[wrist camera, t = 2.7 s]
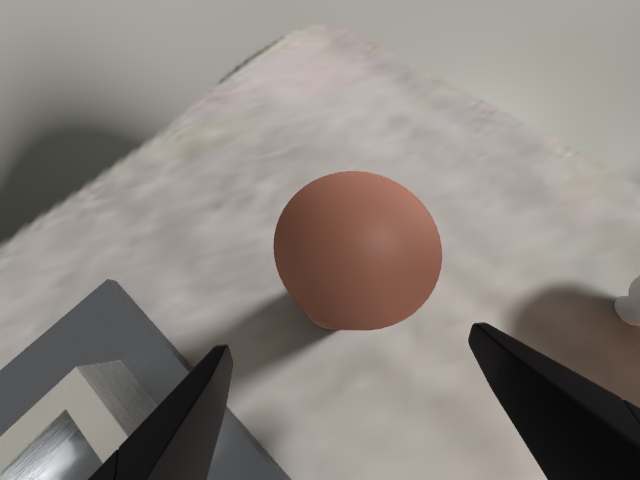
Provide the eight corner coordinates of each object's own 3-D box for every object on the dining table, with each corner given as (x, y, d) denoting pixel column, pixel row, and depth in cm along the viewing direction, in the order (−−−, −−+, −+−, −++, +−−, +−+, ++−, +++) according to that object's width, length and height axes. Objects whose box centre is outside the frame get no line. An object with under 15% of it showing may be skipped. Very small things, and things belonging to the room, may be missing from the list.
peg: (355, 335, 18) (439, 349, 5) (297, 322, 18) (252, 308, 6) (363, 277, 19) (443, 185, 7) (309, 266, 19) (295, 160, 7)
